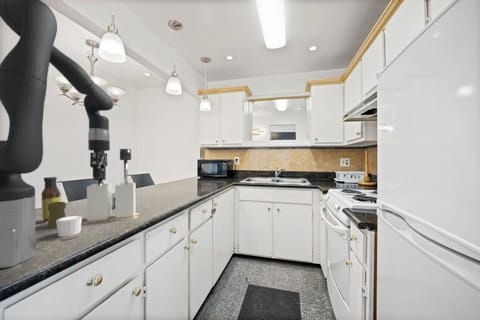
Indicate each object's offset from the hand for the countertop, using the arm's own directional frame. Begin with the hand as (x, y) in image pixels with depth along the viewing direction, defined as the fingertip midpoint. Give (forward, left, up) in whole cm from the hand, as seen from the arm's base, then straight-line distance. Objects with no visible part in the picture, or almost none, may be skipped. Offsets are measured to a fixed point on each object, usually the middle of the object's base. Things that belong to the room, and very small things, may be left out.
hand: (99, 176), depth 83 cm
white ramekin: (-15, +5, -20) cm, 26 cm away
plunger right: (0, -10, -8) cm, 13 cm away
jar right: (0, -10, -19) cm, 21 cm away
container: (+22, -5, -20) cm, 30 cm away
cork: (-4, +13, -20) cm, 25 cm away
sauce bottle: (+11, +21, -20) cm, 31 cm away
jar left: (0, 0, -19) cm, 19 cm away
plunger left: (0, 0, -17) cm, 17 cm away
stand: (0, -5, -20) cm, 21 cm away
